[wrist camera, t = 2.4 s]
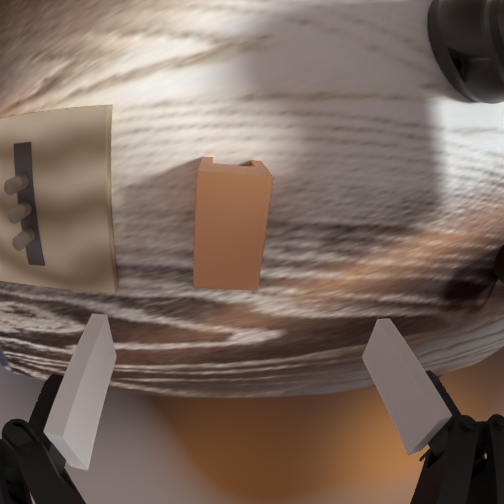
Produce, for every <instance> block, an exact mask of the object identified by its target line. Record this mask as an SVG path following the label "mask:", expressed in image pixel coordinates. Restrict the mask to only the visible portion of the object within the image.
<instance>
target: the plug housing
mask: <svg viewBox="0 0 504 504" xmlns="http://www.w3.org/2000/svg"><path fill="white" fill-rule="evenodd" d="M272 181H273V176H272V175H271V173H270V172H269V171H268V169H267V168H266V167H265V165H264V164H263V163H262V161H255V160H251V163H250V166H240V165H226V164H213V157H202V160H201V163H200V166H199V169H198V173H197V190H196V209H195V233H194V267H193V288H212V289H235V290H258V285H259V278H260V271H261V263H262V256H263V249H264V241H265V234H266V227H267V219H268V212H269V204H270V197H271V189H272Z"/></svg>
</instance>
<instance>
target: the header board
mask: <svg viewBox="0 0 504 504" xmlns="http://www.w3.org/2000/svg"><path fill="white" fill-rule="evenodd" d="M111 120H112V105H98V106H85V107H74V108H65V109H56V110H48V111H41V112H34V113H28V114H22V115H16V116H11V117H6V118H1V119H0V281H4V282H12V283H19V284H27V285H35V286H43V287H52V288H61V289H70V290H80V291H90V292H101V293H112V294H115V293H116V291H117V289H118V287H119V286H118V278H117V269H116V260H115V249H114V237H113V223H112V205H111Z"/></svg>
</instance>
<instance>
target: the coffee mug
mask: <svg viewBox="0 0 504 504" xmlns="http://www.w3.org/2000/svg"><path fill="white" fill-rule="evenodd" d="M494 272H495V274H496V275H497V276H498V278H499V279H500V280H501V281H502V282H503V283H504V246H503V247H502V249H501V250H500V251H499V253H498V255H497V257H496V260H495V263H494Z"/></svg>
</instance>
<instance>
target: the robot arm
mask: <svg viewBox="0 0 504 504" xmlns="http://www.w3.org/2000/svg"><path fill="white" fill-rule="evenodd" d="M428 32H429V38H430V42H431V46H432V49H433V52H434V55H435V57H436V60H437V62H438V64H439V66H440V68H441V70H442V71H443V73H444V75H445V76H446V78H447V79H448V80H449V82H450V83H451V84H452V85H453V86H454V88H455V89H456V90H457V91H459V92H460V93H461V94H462V95H463V96H465V97H467V98H468V99H470V100H473V101H476V102H482V103H489V104H495V103H500V102H503V101H504V0H434V1H433V2H432V4H431V7H430V9H429V14H428ZM116 357H117V356H116V353H115V348H114V344H113V340H112V336H111V331H110V327H109V322H108V317H107V315H103V314H93V313H92V315H91V317H90V319H89V321H88V323H87V325H86V327H85V330H84V332H83V334H82V336H81V338H80V340H79V343H78V345H77V347H76V349H75V352H74V354H73V356H72V358H71V361H70V363H69V365H68V368H67V370H66V373H65V375H64V376H62V375H57V374H52V375H51V376H50V377H49V378H48V379H47V380H46V381H45V383H44V386H43V388H42V390H41V393H40V395H39V397H38V401H37V402H36V405H35V407H34V410H33V412H32V415H31V417H30V420H29V423H27V422H26V421H24V420H21V419H12V420H10V421H9V422H7V423H6V424H5V426H4V427H3V430H2V439H0V504H32V500H31V496H30V493H31V495H32V497H33V499H34V501H35V503H36V504H86V503H85V501H84V500H83V498H82V496H81V495H80V493H79V492H78V490H77V488H76V487H75V485H74V483H73V482H72V480H71V478H70V477H69V475H68V473H67V471H66V470H65V468H64V466H65V462H66V461H67V462H68V463H69V465H70V466H71V467H75V468H79V469H84V470H88V468H89V463H90V458H91V454H92V448H93V444H94V440H95V436H96V431H97V427H98V423H99V419H100V415H101V411H102V407H103V403H104V399H105V396H106V392H107V388H108V385H109V381H110V378H111V374H112V371H113V367H114V364H115V361H116ZM362 359H363V361H364V363H365V365H366V367H367V369H368V371H369V373H370V375H371V377H372V379H373V381H374V383H375V385H376V387H377V389H378V391H379V393H380V396H381V398H382V400H383V402H384V404H385V406H386V408H387V410H388V412H389V414H390V416H391V418H392V420H393V423H394V425H395V427H396V429H397V431H398V433H399V436H400V438H401V440H402V442H403V444H404V446H405V449H406V451H407V453H408V455H410V454H413V453H415V452H418V451H421V450H422V449H423V448H424V447H425V446H426V445H427V444H428V445H429V446H430V449H429V450H428V451H427V452H426V453H425V454H424V455H423V456H422V457H421V458H420V460H419V461H422V460H423V459H424V458H425V457H426V458H425V461H424V465H423V468H422V471H421V474H420V477H419V480H418V484H417V486H416V489H415V492H414V495H413V498H412V501H411V503H410V504H504V417H503V416H501V415H498V414H495V415H492V416H491V417H490V418H489V419H488V421H484V422H483V421H482V422H476V421H475V420H474V419H473V418H471V417H470V416H467V415H461V413H460V412H459V410H458V409H457V407H456V405H455V404H454V402H453V401H452V399H451V397H450V396H449V394H448V393H447V392H446V390H445V388H444V386H442V383H441V382H440V380H439V379H438V377H437V376H436V375H435V374H433V373H432V372H431V371H430V370H428V371H425V370H424V369H423V367H422V366H421V364H420V363H419V361H418V360H417V358H416V357H415V355H414V354H413V352H412V351H411V349H410V348H409V346H408V345H407V343H406V342H405V340H404V339H403V337H402V336H401V334H400V333H399V331H398V330H397V329H396V327H395V326H394V324H393V323H392V321H391V320H390V319H377V322H376V324H375V327H374V330H373V332H372V335H371V337H370V339H369V342H368V344H367V347H366V349H365V351H364V354H363V356H362ZM486 453H487V459H485V457H484V455H485V454H486Z"/></svg>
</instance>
